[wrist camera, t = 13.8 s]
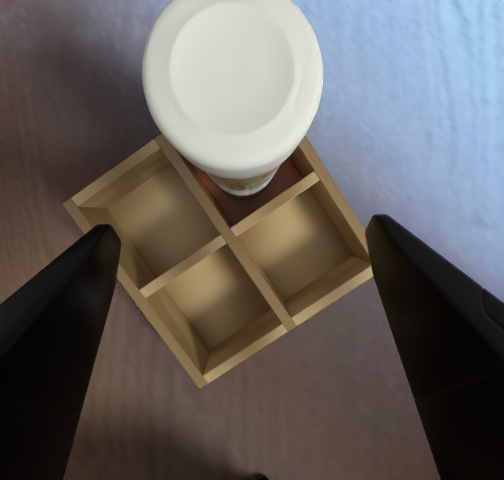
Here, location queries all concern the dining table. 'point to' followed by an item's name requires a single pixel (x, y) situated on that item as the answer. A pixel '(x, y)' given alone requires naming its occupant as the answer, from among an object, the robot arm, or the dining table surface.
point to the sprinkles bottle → (233, 86)
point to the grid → (225, 251)
